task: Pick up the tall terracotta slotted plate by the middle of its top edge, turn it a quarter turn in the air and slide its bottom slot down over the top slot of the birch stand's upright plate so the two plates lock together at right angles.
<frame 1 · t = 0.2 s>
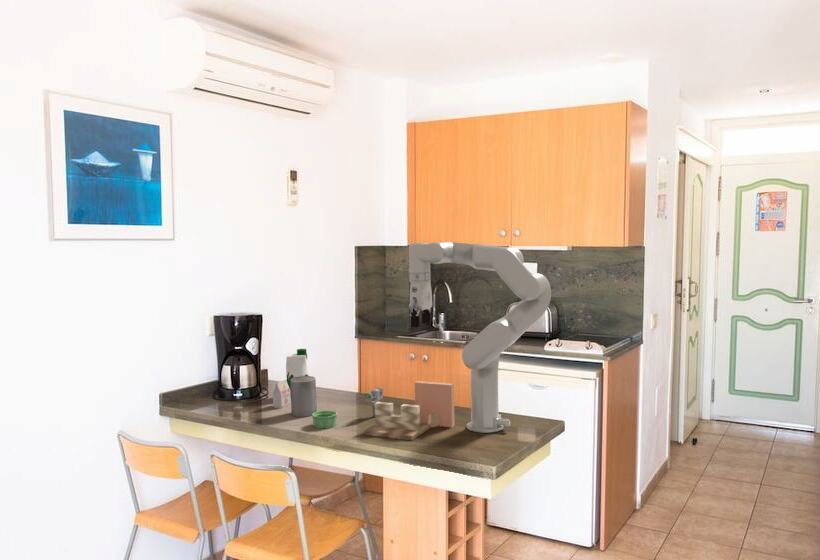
hand: (420, 325, 248), 35 cm above the table, tool pointing down, fingers open, 9 cm apart
slotted plate: (434, 424, 247), on the table
pillar candle: (304, 414, 266), on the table
mechanical component: (375, 417, 259), on the table
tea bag: (282, 406, 278), on the table
slotted stand: (397, 431, 239), on the table
milk carton: (298, 396, 294), on the table
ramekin: (325, 426, 249), on the table
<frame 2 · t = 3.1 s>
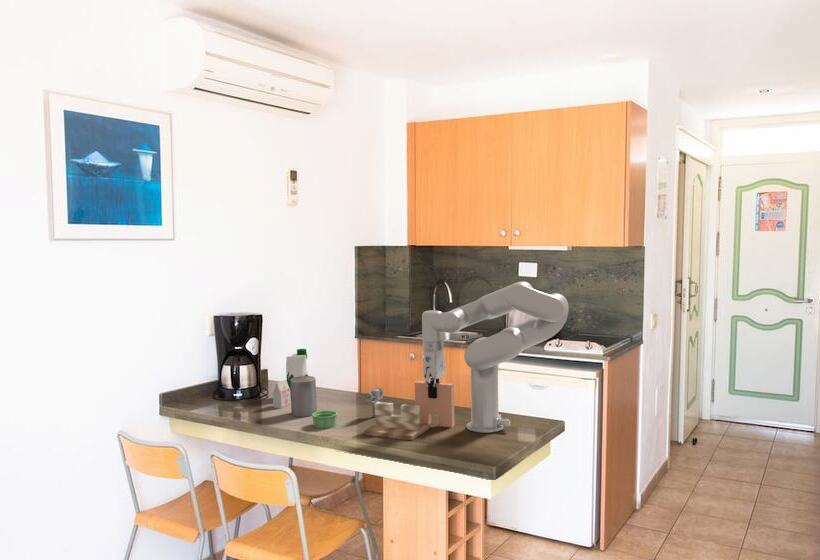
hand: (434, 396, 246), 10 cm above the table, tool pointing down, fingers closed on slotted plate, 2 cm apart
slotted plate: (434, 424, 247), on the table, touching gripper
everything else where it was.
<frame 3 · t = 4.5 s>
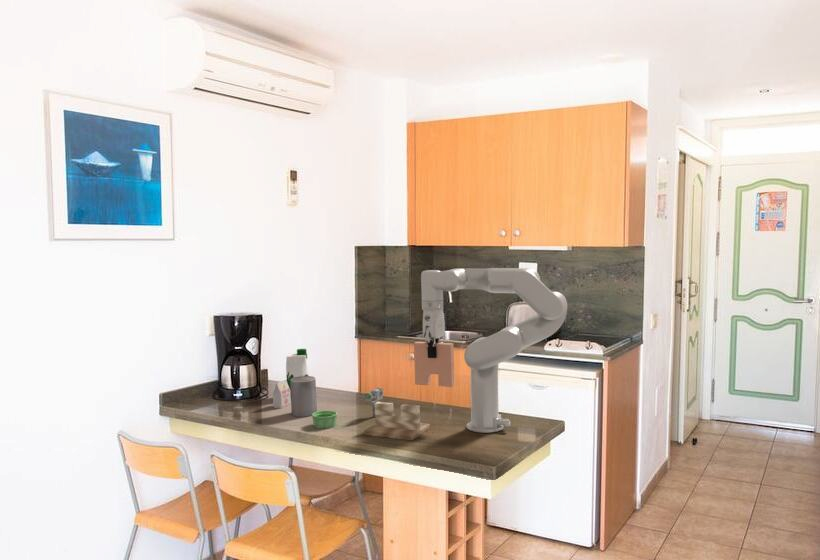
hand: (433, 356, 245), 24 cm above the table, tool pointing down, fingers closed on slotted plate, 2 cm apart
slotted plate: (434, 385, 245), point 14 cm above the table, touching gripper
everything else where it was.
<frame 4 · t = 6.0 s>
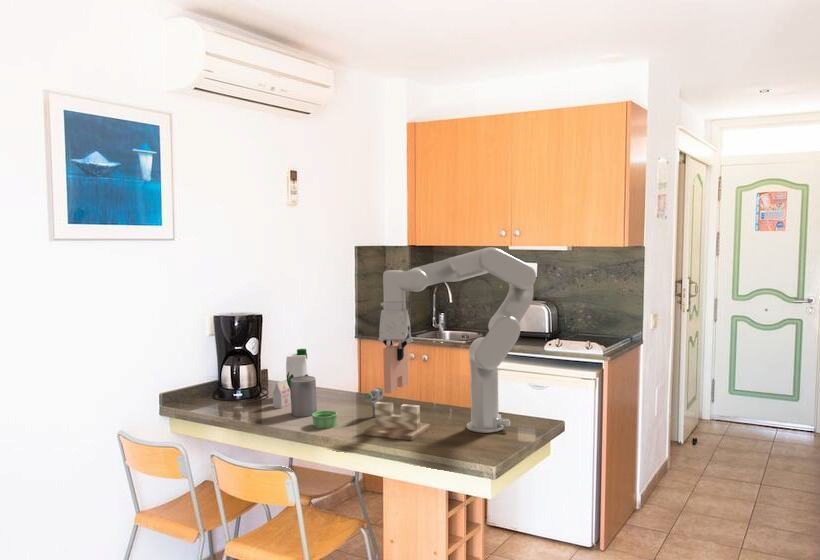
hand: (396, 359, 238), 25 cm above the table, tool pointing down, fingers closed on slotted plate, 2 cm apart
slotted plate: (396, 388, 238), point 15 cm above the table, touching gripper
everything else where it was.
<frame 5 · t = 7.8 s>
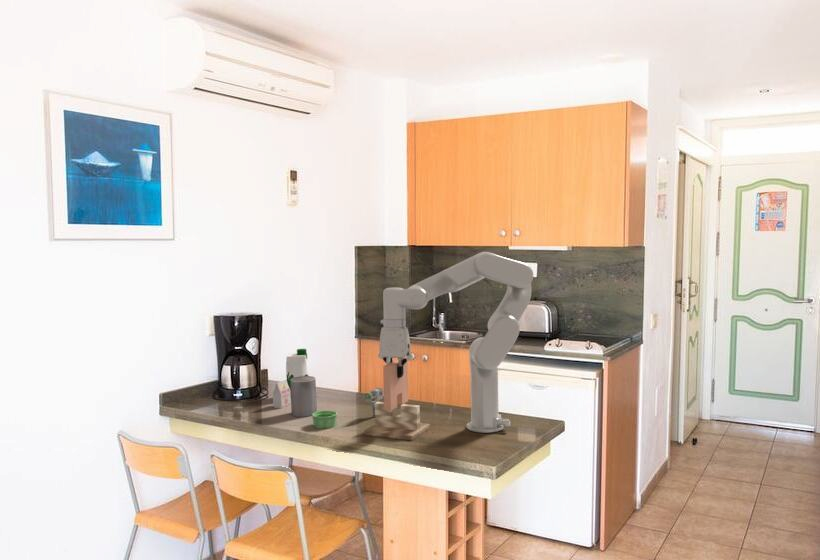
hand: (395, 376, 238), 19 cm above the table, tool pointing down, fingers closed on slotted plate, 2 cm apart
slotted plate: (396, 405, 239), point 9 cm above the table, touching gripper
everything else where it was.
when the fingers open (12 cm above the table, at t = 9.4 s): slotted plate stays where it is, resting on slotted stand.
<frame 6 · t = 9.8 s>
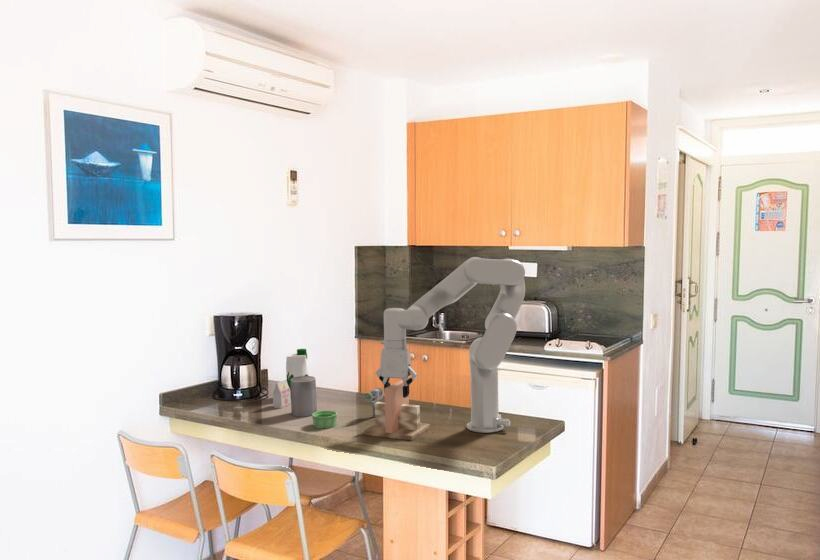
hand: (396, 395, 238), 13 cm above the table, tool pointing down, fingers open, 6 cm apart
slotted plate: (397, 427, 239), point 1 cm above the table, touching slotted stand
everything else where it was.
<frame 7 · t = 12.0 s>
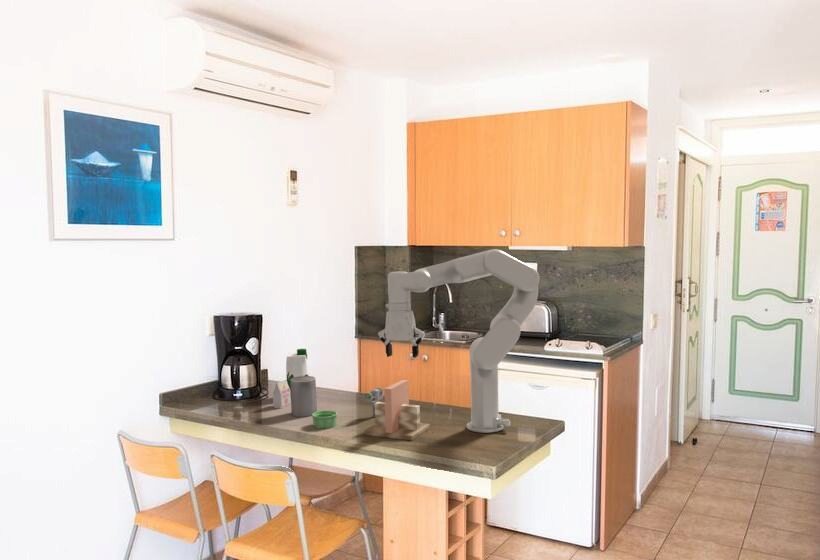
hand: (402, 356, 240), 26 cm above the table, tool pointing down, fingers open, 9 cm apart
nothing on the table moved.
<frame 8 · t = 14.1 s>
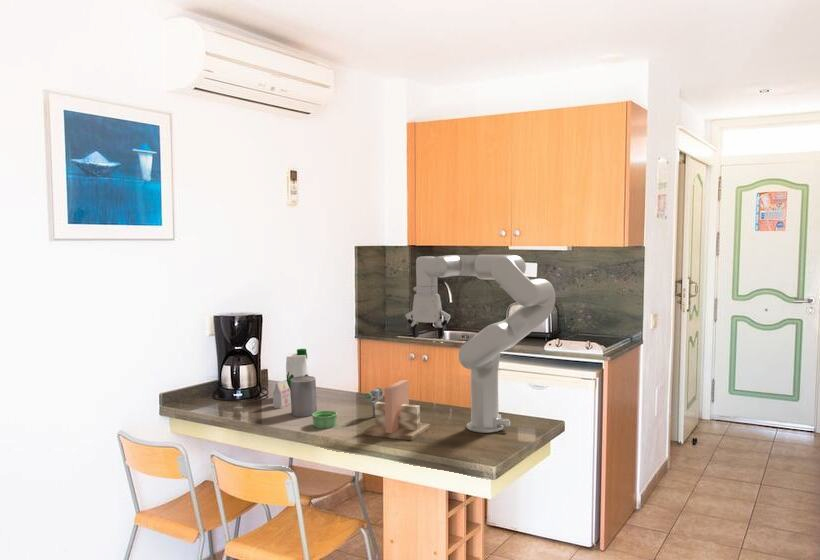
hand: (428, 337, 251), 30 cm above the table, tool pointing down, fingers open, 9 cm apart
nothing on the table moved.
at the end: slotted plate 0.1 cm off-centre on the slotted stand, point 1.5 cm above the slotted stand's base; slotted plate tilted 0°; the gripper is holding nothing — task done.
